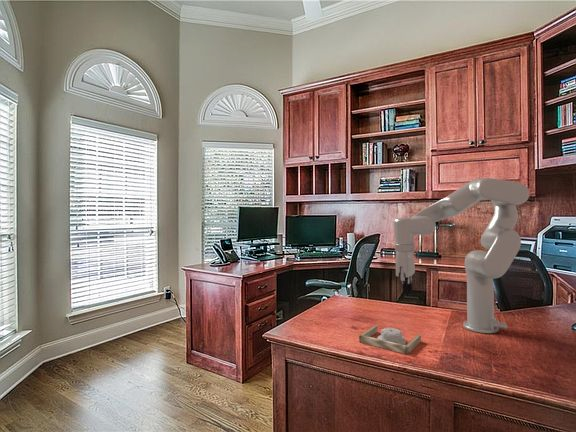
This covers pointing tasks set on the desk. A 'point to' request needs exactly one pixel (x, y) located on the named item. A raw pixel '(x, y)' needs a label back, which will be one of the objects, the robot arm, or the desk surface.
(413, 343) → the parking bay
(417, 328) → the desk surface
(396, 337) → the mechanical component
